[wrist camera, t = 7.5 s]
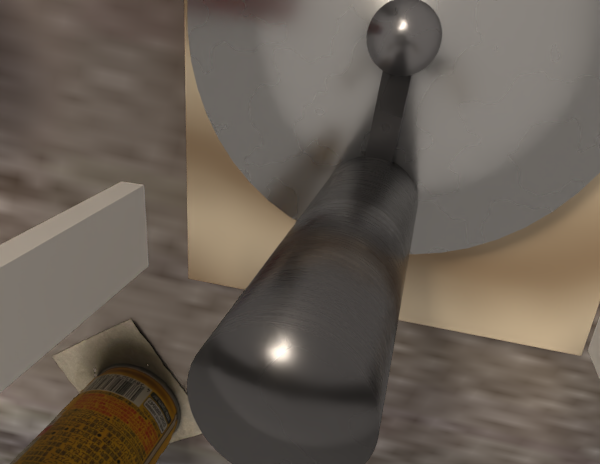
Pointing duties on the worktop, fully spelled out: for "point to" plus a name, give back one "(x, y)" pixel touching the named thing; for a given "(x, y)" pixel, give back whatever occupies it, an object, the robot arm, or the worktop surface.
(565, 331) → the dial board
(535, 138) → the dial
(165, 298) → the worktop surface
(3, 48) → the worktop surface
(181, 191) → the worktop surface
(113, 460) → the condiment
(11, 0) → the worktop surface
